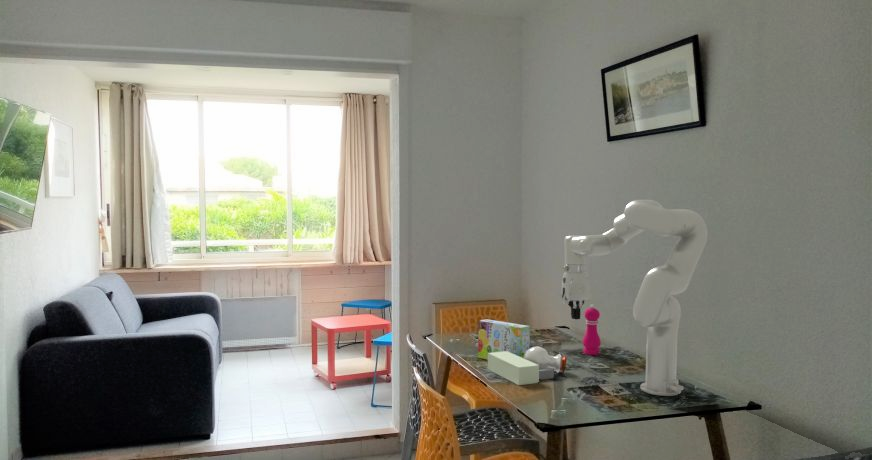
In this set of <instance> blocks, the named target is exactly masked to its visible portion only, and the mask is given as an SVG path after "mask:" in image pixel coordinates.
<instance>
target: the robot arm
mask: <svg viewBox="0 0 872 460" xmlns="http://www.w3.org/2000/svg"><path fill="white" fill-rule="evenodd" d="M644 231H646V232H650V233H652V234H654V235H659V236H661V237H666V238H669V237H671V238H672V237H678V240H677V241H676V243H675V244H674V245H673V247H672V249H671V251H670V253H669V256H668V258H667V260H666V262H665V264H664V265H660V266H656V267H653V268H652V269H650V270H649V271H648V272H647V273H646V274H645V276H644V278H643V280H642V282H641V285H640V288H639V290H638V293H637V295H636V298H635V300H634V303H633V306H632V315H633V318H634V320H635V321H636V323H637V324H638V325H640V326H641V327H645V328H647V331H646V343H645V350H646V351H645V379H644V380H645V382H643V383H641V384H640V390H641V391H642V392H643V393H647V394H650V395H653V396H654V395H655V396H659V397H660V396H663V397H675V396H679V395H680V394H681V393H682V391H683V390H684V388H685V387H684V385H680V384H679V380H680V379H677V365H678V364H677V362H678V361H677V360H678V359H677V358H678V335H679V334H678V333H679V327H680V320H681V315H682V311H681V310H682V309H681V305H680V302H679V301H678V299H677V298H675V297H674V296H676V295H679V294H682V293H684V292H686V290H687V288H688V287H689V285H690V282H691V280H692V277H693V274H694V272H695V270H696V267H697V265H698V262H699V260H700V259H701V258H700V257H701V255H702V253H703V251H704V248H705V247H706V244H707V241H708V227H707V224H706V222H705V220H704V219H703V217H702V216H701V215H700V214H699V213H697V212H696V211H694V210H691V209H686V208H684V209H683V208H679V209H676V208H675V209H674V208H673V209H672V208H671V209H670V208H669V209H667V208H664V207H663V206H662V204H661V203H660V202H658V201H656V200H653V199H635V200H632V201H630V202H629V203H628V204H626V206H625V208H624V210H623V213H622V214H620V215H618V216H617V217H615V218H614V220H613V228H611V229H610V230H608V231H605V232H604V233H602V234H590V235H589V234H588V235H567V236H565V237H564V244H563V245H564V266H562V267H561V269H562V271H564V273H563V275H562V280H561V298H562V303H563V304H565V305H568V306H569V309H570V315H571V319H573V320H581V309H582V308H583V305H584V304H586V303H588V302H589V300H590V299H591V283H590V275H589V274H588V271H586V270H587V269H586V267H587V266H586V262H587V261H586V257H595V256H605V255H609V254H611V253H613V252H615V251H617V250H618V249H620V248H622V247H624V246H625V245H626V244H627V243H628V242H629V240H630V239H632V238H633V237H635V236H637V235H639V234H640V233H643V232H644ZM678 394H679V395H678Z"/></svg>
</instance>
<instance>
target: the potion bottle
mask: <svg viewBox="0 0 872 460" xmlns="http://www.w3.org/2000/svg"><path fill="white" fill-rule="evenodd" d="M523 358H524V359H526V360H528V361H531V362H533V363H535V364H537V365H539V370H542V369H551V368H552V369H554V371H555V372H557V373H558V374H559V372H560V371H561V372H562V373H563V374H564V373H565V371H566V368H567V367H566V366H567V356H566V355H564V356H562V355H561V353H558V354H557V355H549V352H548V351H547V350H546V348H543V347H541V346H538V345H536V346H532V347H529V349H528V350H527V351H526V353H525V355H524V357H523Z"/></svg>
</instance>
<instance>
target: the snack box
mask: <svg viewBox="0 0 872 460" xmlns="http://www.w3.org/2000/svg"><path fill="white" fill-rule="evenodd" d="M530 328H531V326H530V325H526V324H518V323H513V322H507V321H501V320H500V321H499V320H493V319H480V320H478V345H477V347H478V351H477V352H478V353H477V354H478V355H477V358H479V359H483V360H487V361H488V353H493V352H503V351H508V352H510V353H512V354H515V355H517V356H519V357H521V358H523V357H524V355H525V353H526V351H527V350H528V349H530V340H531V339H530V336H531V335H530V334H531V333H530V332H531V329H530Z"/></svg>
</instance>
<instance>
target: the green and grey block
mask: <svg viewBox="0 0 872 460" xmlns="http://www.w3.org/2000/svg"><path fill="white" fill-rule="evenodd" d="M487 370H489V371H490V372H493V374H496V375H497V376H500V377H502V378H504V379H506V380H508V381H509V382H511V383H513V384H516V385H517V386H522V385H533V384H539V383H540V380H539V379H541V380H549V379H554V377H555V376H554V375H555V369H554V368H546V369H542V370H539V365H537V364H535V363H533V362H531V361H528V360H526V359H524V358H521V357H519V356H517V355H515V354H512V353H510V352H508V351H503V352H493V353H488V360H487ZM538 382H539V383H538Z"/></svg>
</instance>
